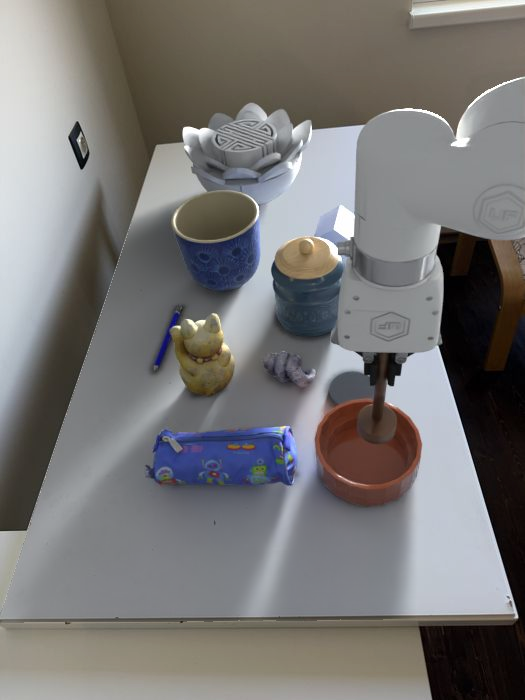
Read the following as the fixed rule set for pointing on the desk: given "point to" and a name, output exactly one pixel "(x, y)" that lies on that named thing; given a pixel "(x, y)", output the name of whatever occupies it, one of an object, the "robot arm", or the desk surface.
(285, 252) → the canister
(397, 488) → the mixing bowl
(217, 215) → the planter
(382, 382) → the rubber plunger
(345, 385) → the grey round base
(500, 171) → the robot arm
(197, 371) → the decorative figurine
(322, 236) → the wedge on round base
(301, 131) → the decorative bowl
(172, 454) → the pencil case
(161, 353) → the pencil
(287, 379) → the seashell
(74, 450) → the desk surface
